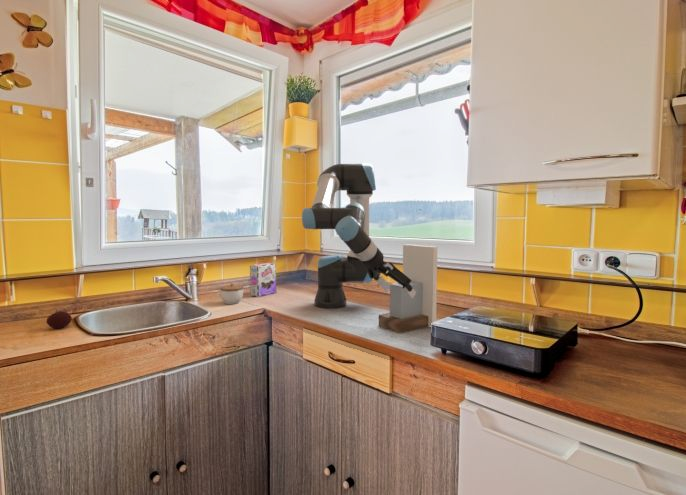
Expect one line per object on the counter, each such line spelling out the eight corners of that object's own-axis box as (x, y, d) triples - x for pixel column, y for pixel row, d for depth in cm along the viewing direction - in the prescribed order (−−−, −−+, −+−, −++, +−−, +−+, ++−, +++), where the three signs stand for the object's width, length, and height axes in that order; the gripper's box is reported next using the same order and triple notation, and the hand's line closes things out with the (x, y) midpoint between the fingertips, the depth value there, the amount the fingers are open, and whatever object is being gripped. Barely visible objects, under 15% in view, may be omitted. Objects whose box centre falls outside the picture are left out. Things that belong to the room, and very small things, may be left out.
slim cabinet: (389, 315, 139) (390, 278, 138) (411, 311, 145) (411, 275, 144) (400, 318, 134) (401, 280, 133) (422, 314, 140) (422, 278, 139)
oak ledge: (378, 325, 140) (378, 314, 140) (405, 319, 148) (405, 309, 148) (400, 333, 130) (400, 322, 130) (428, 326, 138) (428, 316, 138)
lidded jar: (219, 306, 172) (219, 286, 171) (221, 301, 182) (221, 282, 182) (243, 304, 174) (243, 285, 174) (244, 299, 185) (243, 281, 184)
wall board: (402, 318, 150) (403, 244, 148) (405, 317, 151) (406, 244, 149) (432, 328, 137) (433, 247, 134) (435, 327, 138) (437, 246, 135)
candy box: (258, 297, 190) (257, 265, 189) (250, 296, 194) (249, 264, 192) (276, 293, 202) (276, 263, 201) (268, 291, 205) (268, 262, 204)
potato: (42, 331, 133) (41, 315, 133) (54, 324, 142) (53, 309, 141) (66, 330, 135) (65, 313, 135) (77, 323, 144) (76, 308, 143)
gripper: (342, 258, 136) (373, 294, 146) (387, 266, 116) (420, 306, 126) (353, 243, 139) (383, 279, 149) (399, 248, 118) (431, 289, 128)
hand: (400, 292), depth 137 cm, fingers open, 13 cm apart
